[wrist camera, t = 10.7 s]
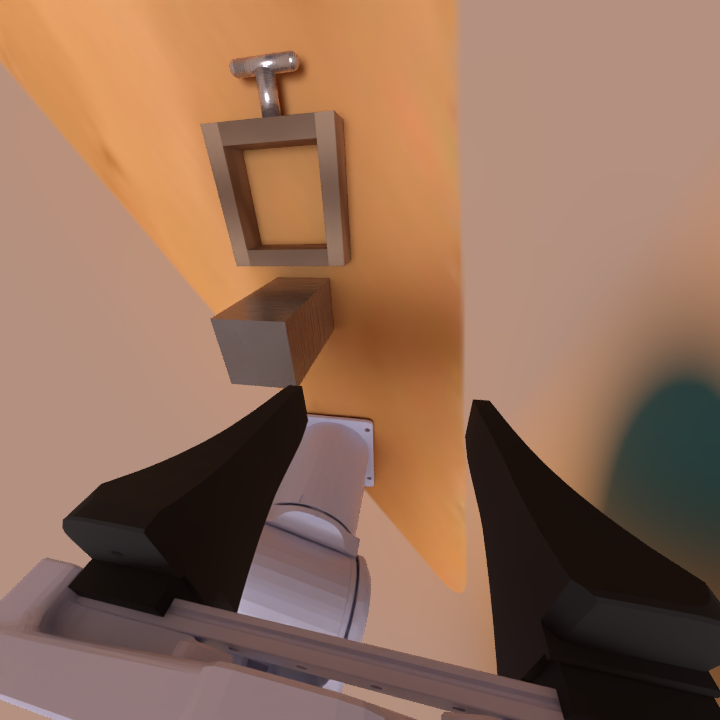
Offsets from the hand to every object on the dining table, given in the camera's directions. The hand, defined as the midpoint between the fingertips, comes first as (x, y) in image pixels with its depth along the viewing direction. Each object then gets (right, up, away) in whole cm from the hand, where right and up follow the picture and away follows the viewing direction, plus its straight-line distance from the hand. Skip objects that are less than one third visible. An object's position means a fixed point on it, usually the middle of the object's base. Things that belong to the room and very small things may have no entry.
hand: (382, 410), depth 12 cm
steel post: (-5, +6, +10) cm, 13 cm away
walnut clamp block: (-5, +14, +5) cm, 16 cm away
